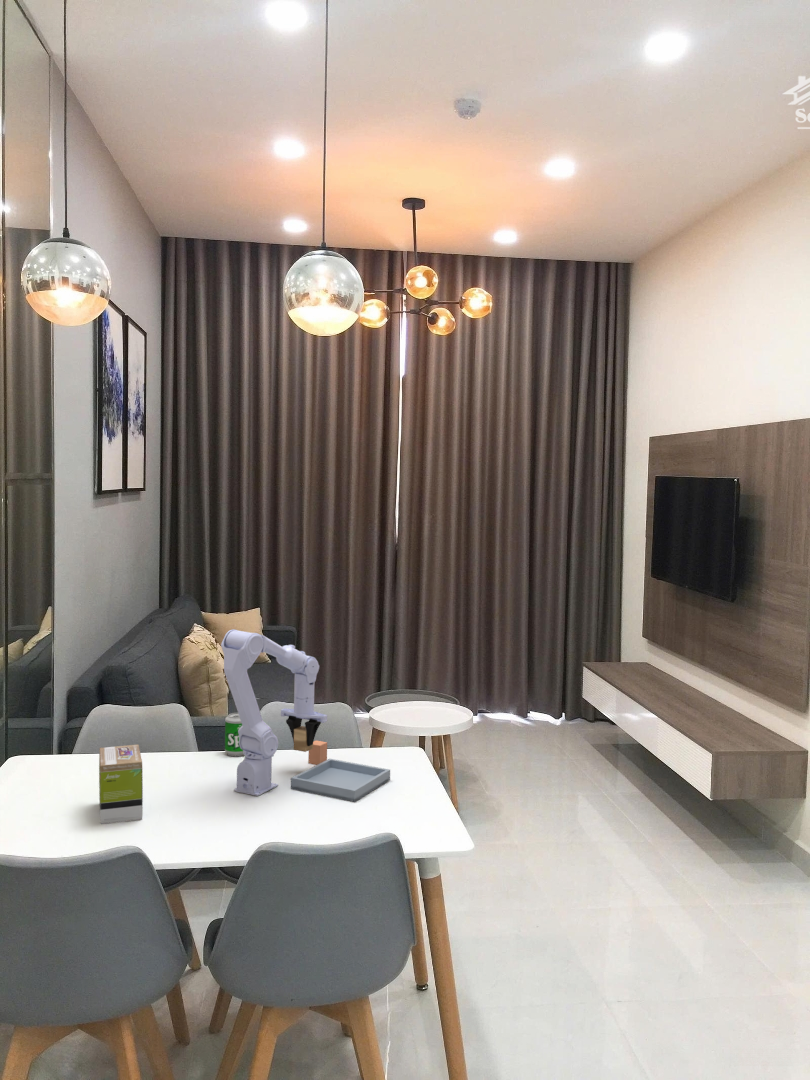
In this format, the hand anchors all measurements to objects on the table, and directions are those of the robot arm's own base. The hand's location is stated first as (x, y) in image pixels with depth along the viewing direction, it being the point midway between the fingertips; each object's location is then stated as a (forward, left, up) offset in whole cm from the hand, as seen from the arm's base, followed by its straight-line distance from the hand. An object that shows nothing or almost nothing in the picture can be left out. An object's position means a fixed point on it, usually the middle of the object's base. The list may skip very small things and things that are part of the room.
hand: (303, 743), depth 242 cm
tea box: (-48, +22, -9) cm, 54 cm away
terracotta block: (+10, +1, -8) cm, 13 cm away
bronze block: (0, 0, -2) cm, 2 cm away
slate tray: (-3, -15, -8) cm, 17 cm away
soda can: (+5, +27, -9) cm, 29 cm away
